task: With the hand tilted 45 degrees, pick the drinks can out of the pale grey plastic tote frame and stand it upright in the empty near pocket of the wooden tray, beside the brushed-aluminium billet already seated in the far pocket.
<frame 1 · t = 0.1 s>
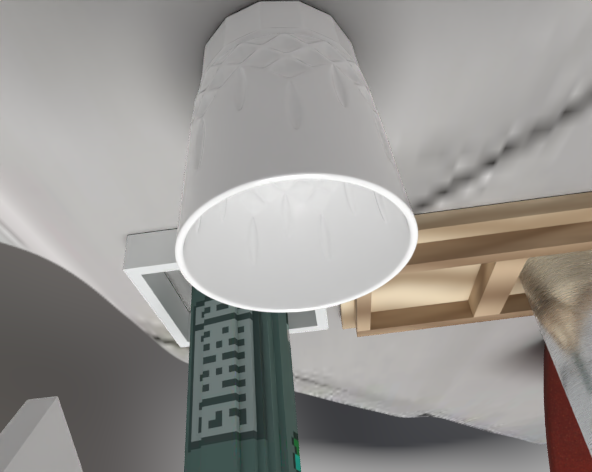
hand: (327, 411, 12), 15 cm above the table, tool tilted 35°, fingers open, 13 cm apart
tote frame: (238, 271, 35), on the table
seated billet: (561, 263, 36), point 1 cm above the table, touching wooden tray
wooden tray: (486, 258, 37), on the table
white cup: (278, 68, 22), on the table
can: (238, 269, 35), resting in tote frame
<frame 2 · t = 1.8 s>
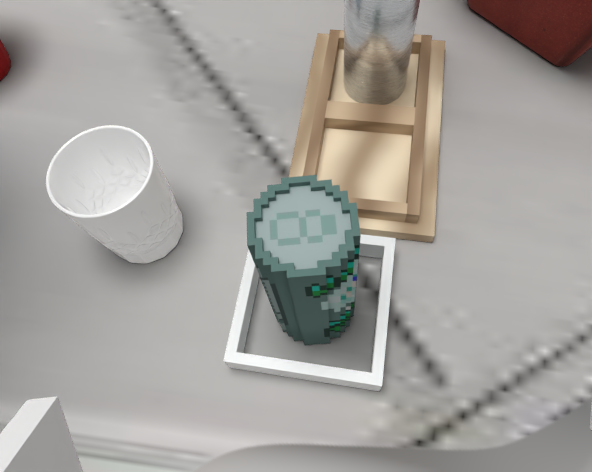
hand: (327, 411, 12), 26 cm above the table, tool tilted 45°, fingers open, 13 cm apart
tote frame: (314, 307, 41), on the table
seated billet: (374, 81, 49), point 1 cm above the table, touching wooden tray
plant pot: (551, 9, 53), on the table
wooden tray: (368, 130, 48), on the table
white cup: (148, 231, 45), on the table
can: (314, 307, 41), resting in tote frame
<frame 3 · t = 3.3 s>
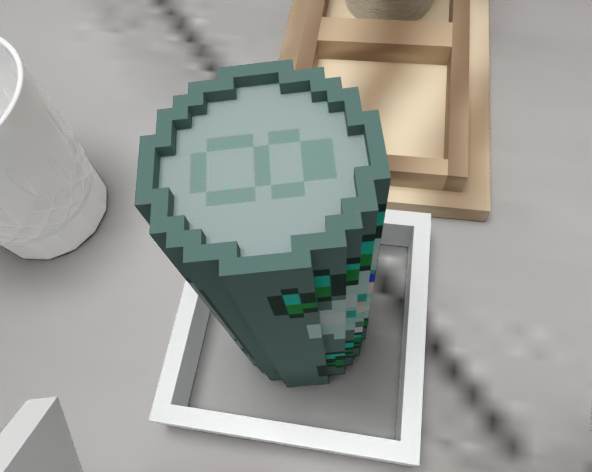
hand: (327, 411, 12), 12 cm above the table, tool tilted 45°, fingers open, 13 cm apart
tote frame: (303, 324, 26), on the table
wooden tray: (381, 64, 33), on the table
white cup: (55, 211, 30), on the table
can: (303, 325, 26), resting in tote frame
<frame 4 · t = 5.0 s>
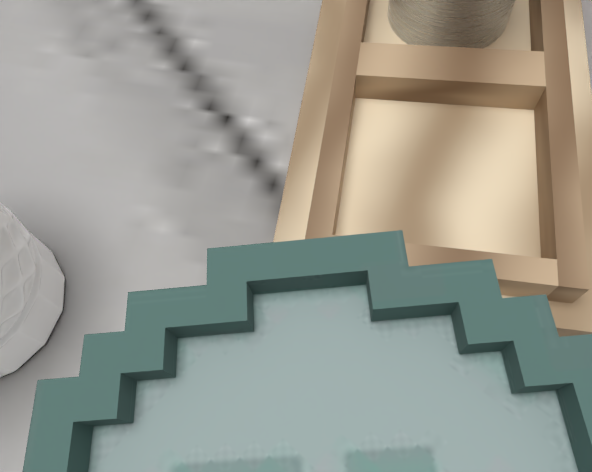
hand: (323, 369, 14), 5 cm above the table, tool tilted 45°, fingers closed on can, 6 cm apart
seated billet: (447, 12, 25), point 1 cm above the table, touching wooden tray
wooden tray: (438, 104, 24), on the table
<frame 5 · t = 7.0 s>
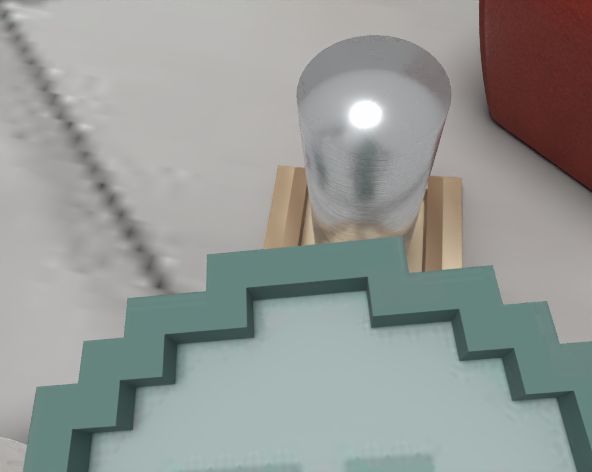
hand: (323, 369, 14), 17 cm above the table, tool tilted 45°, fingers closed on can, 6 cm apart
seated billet: (360, 247, 33), point 1 cm above the table, touching wooden tray
wooden tray: (354, 326, 32), on the table
when the fingers open (8 cm above the table, at t = 9.3 s): can drops 1 cm, resting on wooden tray.
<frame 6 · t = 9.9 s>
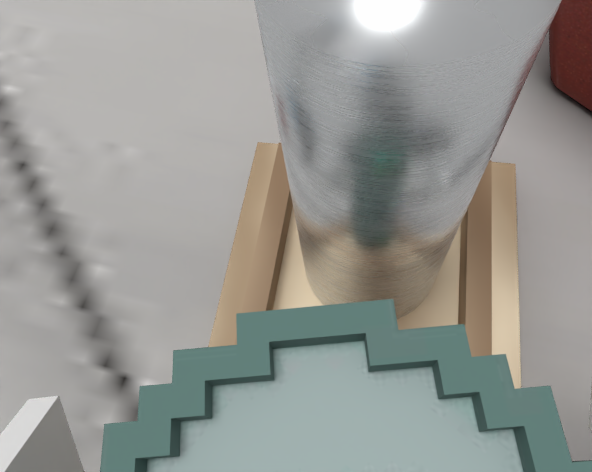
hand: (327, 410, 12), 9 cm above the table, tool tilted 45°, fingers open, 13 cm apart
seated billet: (369, 260, 23), point 1 cm above the table, touching wooden tray
wooden tray: (356, 375, 22), on the table
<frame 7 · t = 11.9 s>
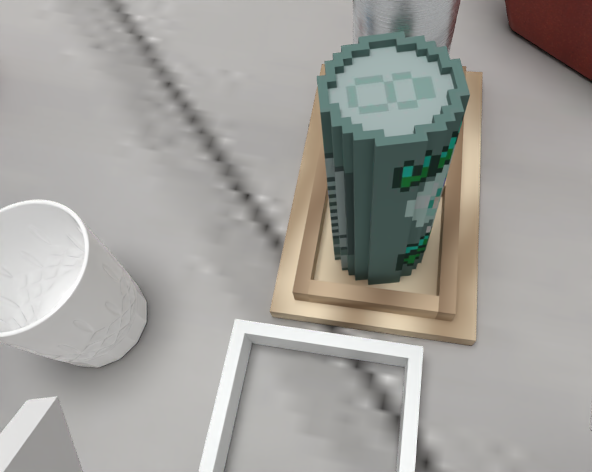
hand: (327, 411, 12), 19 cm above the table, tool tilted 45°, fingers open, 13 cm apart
tote frame: (313, 436, 30), on the table
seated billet: (393, 125, 38), point 1 cm above the table, touching wooden tray
wooden tray: (385, 188, 37), on the table
white cup: (103, 321, 35), on the table
can: (377, 243, 34), point 1 cm above the table, touching wooden tray
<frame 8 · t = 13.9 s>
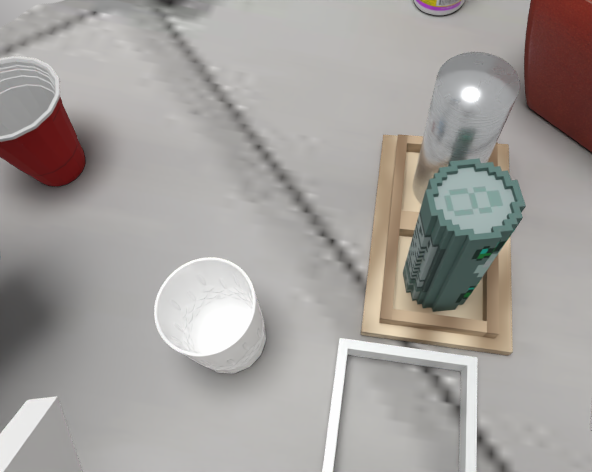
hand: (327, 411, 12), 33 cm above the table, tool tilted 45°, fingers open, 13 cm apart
tote frame: (399, 421, 42), on the table
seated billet: (442, 187, 51), point 1 cm above the table, touching wooden tray
plastic cup: (64, 166, 58), on the table
wooden tray: (438, 236, 50), on the table
supplement bottle: (437, 1, 64), on the table
white cup: (231, 338, 47), on the table
can: (436, 280, 47), point 1 cm above the table, touching wooden tray
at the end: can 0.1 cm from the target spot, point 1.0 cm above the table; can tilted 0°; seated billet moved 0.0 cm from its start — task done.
